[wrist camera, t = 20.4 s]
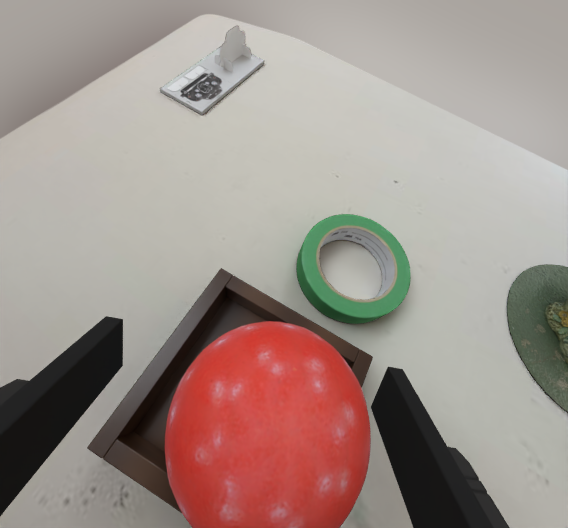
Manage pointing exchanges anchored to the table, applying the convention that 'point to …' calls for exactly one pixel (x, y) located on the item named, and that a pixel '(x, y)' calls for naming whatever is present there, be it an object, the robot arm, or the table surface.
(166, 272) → the table surface
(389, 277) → the tape roll
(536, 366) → the frog figurine
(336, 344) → the square tray
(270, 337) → the stacking toy
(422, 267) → the table surface
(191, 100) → the car cutout
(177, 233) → the table surface
